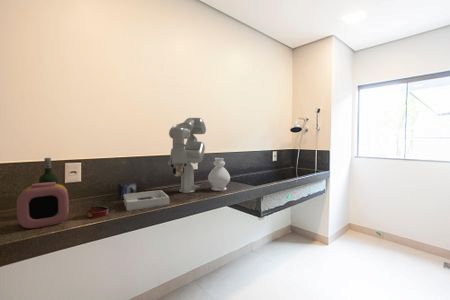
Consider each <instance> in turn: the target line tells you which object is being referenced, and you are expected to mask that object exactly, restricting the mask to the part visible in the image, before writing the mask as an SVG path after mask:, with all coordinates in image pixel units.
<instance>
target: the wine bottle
mask: <svg viewBox="0 0 450 300" xmlns="http://www.w3.org/2000/svg"><path fill="white" fill-rule="evenodd" d="M43 160H44V173H43V174H42V175H41V176H40V177H39V178H38V183H46V182H56V184H59V182H58V180H59V179H58V176H57V175H56V174H54V173H53V171H52V158H51V157H44V159H43Z"/></svg>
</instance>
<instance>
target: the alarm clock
mask: <svg viewBox="0 0 450 300" xmlns="http://www.w3.org/2000/svg"><path fill="white" fill-rule="evenodd" d="M16 199H17V200H16V214H17V215H16V217H17V221H18V224H19V225H21V227H22V228H25V229H37V228H43V227H49V226H55V225H58V224H60V223H62V222H63V221H65V220H66V218H67V217H68V216H69V212H70V206H69V205H70V203H69V191H68V189H67V187H65V185H63V184H61V183H58V184H56V182H46V183H39V182H37V183H32V184H31V185H30V186H27V187H25V188H24V189H22V191H21V193H20V194H19V196H18V197H17V198H16Z"/></svg>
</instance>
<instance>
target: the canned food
mask: <svg viewBox="0 0 450 300" xmlns="http://www.w3.org/2000/svg"><path fill="white" fill-rule="evenodd" d="M88 203H89V204H91V205H94V206H96V207H93V208H92V207H91V208H89V209H88V210H87V211H86V212H87V218H89V219H99V218H103V217H106V216H108V215H109V207H108V206H103V205H99V204H96V203H95V202H93V201H91V200H88Z"/></svg>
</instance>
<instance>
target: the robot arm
mask: <svg viewBox="0 0 450 300" xmlns="http://www.w3.org/2000/svg"><path fill="white" fill-rule="evenodd" d="M206 132H207V127H206V124H205V122H204V120H203V119H202V118H201V117H189V118H187V119H185V120H184V121H183V122H180V123H178V124H174V125H172V127H171V128H170V129H169V132H168V136H169V138H171V139H172V148H171V150H170V153H169V154H170V156H169V160H168V162H167V164H168V166H170V167H171V168H172V174H173V175H174V174H176V168H175V166H176V165H183V176H180V178H181V179H180V181H181V182H180V183H181V184H180V185H181V187H180V189H179V190H178V191H179V192H180V193H184V194H186V193H187V194H188V193H190V194H191V193H195V192H196V189H197V188H200V187H201V186H200V185H197V184H194V183H195V182H194V178H195V175H194V174H195V173H194V172H195V171H194V170H195V169H194V166H193V163H194V164H196V163H197V164H199V163H202V161H203V159H204V155H205V151H206V146H205V143H204V142H203V141H198V138H197V136H195V135H205V134H206ZM185 140H186V141H185ZM185 142H186V143H185Z"/></svg>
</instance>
